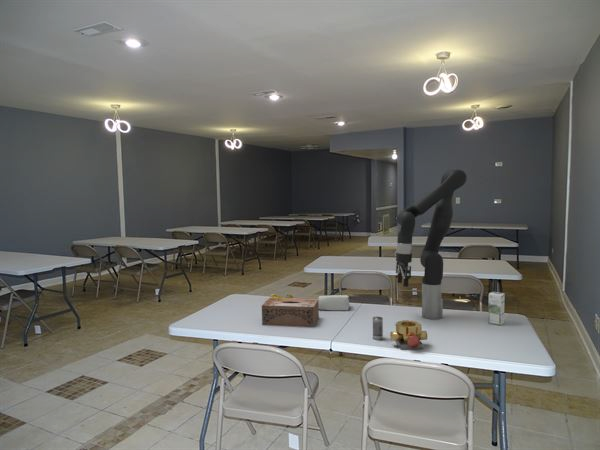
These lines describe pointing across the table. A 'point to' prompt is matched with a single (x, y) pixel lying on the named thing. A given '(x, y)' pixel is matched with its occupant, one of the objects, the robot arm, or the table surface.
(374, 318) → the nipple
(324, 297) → the white flat block
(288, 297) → the sprinkler
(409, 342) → the valve
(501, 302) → the syrup box
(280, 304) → the tissue box cover
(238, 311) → the table surface
